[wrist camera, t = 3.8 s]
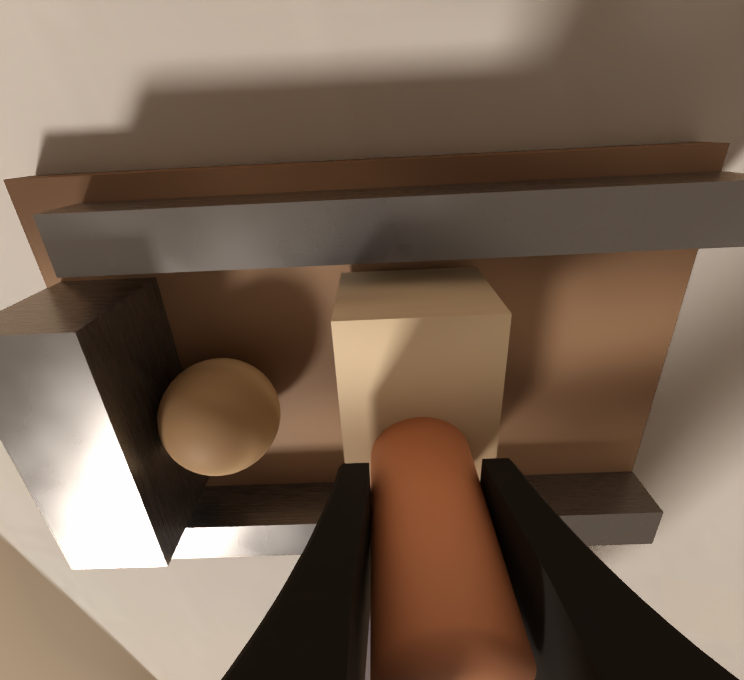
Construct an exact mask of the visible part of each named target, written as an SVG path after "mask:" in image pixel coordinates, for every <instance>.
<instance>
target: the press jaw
mask: <svg viewBox="0 0 744 680" xmlns="http://www.w3.org/2000/svg"><path fill="white" fill-rule="evenodd" d="M511 317H512V313H511V312H510V311H509V309H508V308H507V307H506V305H505V304H504V303H503V301H502V300H501V299H500V298H499V296H498V295H497V294H496V292H495V291H494V290H493V288H492V287H491V286H490V284H489V283H488V282H487V281H486V279H485V278H484V277H483V275H482V274H481V273H480V271H479V270H478V269H477V267H456V268H434V269H412V270H389V271H367V272H345V273H341V276H340V281H339V286H338V290H337V295H336V300H335V304H334V309H333V314H332V318H331V328H332V338H333V349H334V359H335V369H336V379H337V390H338V400H339V410H340V420H341V430H342V441H343V451H344V461H345V463H369V470H370V487H371V605H370V680H534V679H535V676H536V670H537V668H536V662H535V659H534V656H533V652H532V649H531V646H530V643H529V639H528V636H527V633H526V630H525V626H524V623H523V620H522V617H521V613H520V610H519V607H518V604H517V600H516V597H515V594H514V591H513V587H512V584H511V581H510V578H509V574H508V571H507V568H506V565H505V561H504V558H503V555H502V552H501V548H500V545H499V542H498V539H497V535H496V532H495V529H494V526H493V522H492V519H491V516H490V513H489V509H488V506H487V503H486V500H485V496H484V493H483V490H482V487H481V483H480V477H481V466H482V459H490V458H496V456H497V446H498V437H499V428H500V419H501V410H502V400H503V391H504V382H505V373H506V363H507V354H508V345H509V336H510V326H511Z"/></svg>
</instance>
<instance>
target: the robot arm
mask: <svg viewBox="0 0 744 680" xmlns="http://www.w3.org/2000/svg"><path fill="white" fill-rule="evenodd" d="M480 483H481V487H482V490H483V493H484V496H485V500H486V503H487V506H488V509H489V513H490V516H491V519H492V522H493V526H494V529H495V532H496V535H497V539H498V542H499V545H500V548H501V552H502V555H503V558H504V561H505V565H506V568H507V571H508V574H509V578H510V581H511V584H512V587H513V591H514V594H515V597H516V600H517V604H518V607H519V610H520V613H521V617H522V620H523V623H524V626H525V630H526V633H527V636H528V639H529V643H530V646H531V649H532V652H533V656H534V659H535V662H536V668H537V670H536V676H535V679H534V680H739V679H738V678H736V677H735V676H734V675H732V674H731V673H730V672H729V671H727V670H726V669H725V668H723V667H722V666H721V665H720V664H718V663H717V662H716V661H714V660H713V659H712V658H711V657H709V656H708V655H707V654H705V653H704V652H703V651H702V650H700V649H699V648H698V647H697V646H696V645H694V644H693V643H692V642H691V641H690V640H688V639H687V638H686V637H685V636H684V635H682V634H681V633H680V632H679V631H678V630H676V629H675V628H674V627H673V626H672V625H671V624H669V623H668V622H667V621H666V620H665V619H664V618H663V617H661V616H660V615H659V614H658V613H657V612H656V611H655V610H653V609H652V608H651V607H650V606H649V605H648V604H647V603H646V602H644V601H643V600H642V599H641V598H640V597H639V596H638V595H637V594H636V593H635V592H634V591H632V590H631V589H630V588H629V587H628V586H627V585H626V584H625V583H624V582H623V581H622V580H621V579H620V578H619V577H618V576H617V575H616V574H615V573H614V572H613V571H612V570H611V569H609V568H608V567H607V566H606V565H605V564H604V563H603V562H602V561H601V560H600V559H599V558H598V557H597V556H596V555H595V554H594V553H593V552H592V551H591V550H590V549H589V547H588V546H587V545H586V544H585V543H584V542H583V541H582V540H581V539H580V538H579V537H578V536H577V535H576V534H575V533H574V532H573V531H572V529H571V528H570V527H569V526H568V525H567V524H566V523H565V522H564V521H563V520H562V519H561V518H560V517H559V515H558V514H557V513H556V512H555V511H554V510H553V509H552V508H551V507H550V505H549V504H548V503H547V502H546V501H545V500H544V498H543V497H542V496H541V495H540V494H539V493H538V492H537V490H536V489H535V488H534V487H533V486H532V484H531V483H530V482H529V481H528V480H527V478H526V477H525V476H524V475H523V474H522V472H521V471H520V470H519V469H518V468H517V466H516V465H515V464H514V463H513V462H512V461H511V460H510V459H509V458H490V459H482V466H481V477H480ZM370 605H371V487H370V470H369V463H343V464H342V465H341V466H340V467H339V468H338V472H337V475H336V479H335V481H334V484H333V487H332V490H331V492H330V495H329V497H328V500H327V502H326V504H325V507H324V509H323V512H322V514H321V516H320V518H319V520H318V522H317V524H316V526H315V528H314V531H313V533H312V535H311V537H310V539H309V541H308V543H307V545H306V547H305V549H304V551H303V552H302V554H301V556H300V558H299V560H298V561H297V563H296V565H295V567H294V569H293V570H292V572H291V574H290V576H289V578H288V580H287V581H286V583H285V585H284V586H283V588H282V590H281V591H280V593H279V595H278V596H277V598H276V600H275V601H274V603H273V605H272V606H271V608H270V609H269V611H268V612H267V614H266V616H265V617H264V619H263V620H262V622H261V623H260V625H259V626H258V628H257V629H256V631H255V632H254V634H253V635H252V637H251V638H250V640H249V641H248V643H247V644H246V645H245V647H244V648H243V650H242V651H241V653H240V654H239V655H238V657H237V658H236V660H235V661H234V663H233V664H232V665H231V667H230V668H229V670H228V671H227V672H226V674H225V675H224V677H223V678H222V679H221V680H370Z"/></svg>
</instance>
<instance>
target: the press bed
mask: <svg viewBox="0 0 744 680" xmlns="http://www.w3.org/2000/svg"><path fill="white" fill-rule="evenodd" d="M728 147H729V143H712V142H690V143H670V144H650V145H630V146H610V147H591V148H571V149H551V150H531V151H512V152H492V153H472V154H452V155H432V156H413V157H393V158H373V159H353V160H334V161H314V162H294V163H274V164H254V165H235V166H215V167H195V168H175V169H156V170H136V171H116V172H96V173H76V174H57V175H37V176H28V177H20V178H13V179H5V180H4V183H5V185H6V188H7V190H8V192H9V195H10V197H11V200H12V202H13V205H14V207H15V210H16V212H17V215H18V217H19V220H20V222H21V224H22V227H23V229H24V232H25V234H26V237H27V239H28V242H29V244H30V247H31V249H32V252H33V254H34V256H35V259H36V261H37V264H38V266H39V269H40V271H41V274H42V276H43V279H44V281H45V283H46V286H47V288H46V289H44V290H42V291H40V292H38V293H36V294H34V295H32V296H30V297H28V298H26V299H24V300H22V301H20V302H18V303H16V304H14V305H12V306H9V307H7V308H5V309H3V310H1V311H0V440H1V441H2V443H3V445H4V447H5V449H6V451H7V452H8V454H9V456H10V458H11V460H12V461H13V463H14V465H15V467H16V469H17V471H18V472H19V474H20V476H21V478H22V480H23V481H24V483H25V485H26V487H27V489H28V491H29V492H30V494H31V496H32V498H33V500H34V501H35V503H36V505H37V507H38V509H39V511H40V512H41V514H42V516H43V518H44V520H45V521H46V523H47V525H48V527H49V529H50V531H51V532H52V534H53V536H54V538H55V540H56V541H57V543H58V545H59V547H60V549H61V551H62V552H63V554H64V556H65V558H66V560H67V561H68V563H69V565H70V567H71V569H72V570H74V569H106V568H138V567H168V565H169V563H170V561H171V559H182V558H214V557H245V556H276V555H301V554H302V552H303V551H304V549H305V547H306V545H307V543H308V541H309V539H310V537H311V535H312V533H313V531H314V528H315V526H316V524H317V522H318V520H319V518H320V516H321V514H322V512H323V509H324V507H325V504H326V502H327V500H328V497H329V495H330V492H331V490H332V487H333V484H334V481H335V479H336V475H337V472H338V468H339V467H340V466H341V465H342V464H343V463H345V461H344V451H343V441H342V430H341V420H340V410H339V400H338V390H337V379H336V369H335V359H334V349H333V338H332V328H331V318H332V314H333V309H334V304H335V300H336V295H337V290H338V286H339V281H340V276H341V273H345V272H367V271H389V270H412V269H434V268H456V267H477V269H478V270H479V271H480V273H481V274H482V275H483V277H484V278H485V279H486V281H487V282H488V283H489V284H490V286H491V287H492V288H493V290H494V291H495V292H496V294H497V295H498V296H499V298H500V299H501V300H502V301H503V303H504V304H505V305H506V307H507V308H508V309H509V311H510V312H511V313H512V317H511V326H510V336H509V345H508V354H507V363H506V373H505V382H504V391H503V400H502V410H501V419H500V428H499V437H498V446H497V456H496V458H509V459H510V460H511V461H512V462H513V463H514V464H515V465H516V466H517V468H518V469H519V470H520V471H521V472H522V474H523V475H524V476H525V477H526V478H527V480H528V481H529V482H530V483H531V484H532V486H533V487H534V488H535V489H536V490H537V492H538V493H539V494H540V495H541V496H542V497H543V498H544V500H545V501H546V502H547V503H548V504H549V505H550V507H551V508H552V509H553V510H554V511H555V512H556V513H557V514H558V515H559V517H560V518H561V519H562V520H563V521H564V522H565V523H566V524H567V525H568V526H569V527H570V528H571V529H572V531H573V532H574V533H575V534H576V535H577V536H578V537H579V538H580V539H581V540H582V541H583V542H584V543H585V544H586V545H587V546H591V545H622V544H652V542H653V540H654V537H655V534H656V531H657V529H658V526H659V523H660V520H661V517H662V515H663V511H662V510H661V509H660V507H659V506H658V505H657V503H656V502H655V501H654V499H653V498H652V497H651V496H650V494H649V493H648V492H647V490H646V489H645V488H644V486H643V485H642V484H641V482H640V481H639V480H638V479H637V477H636V476H635V475H634V473H633V472H632V469H633V466H634V463H635V459H636V456H637V453H638V449H639V446H640V442H641V439H642V436H643V432H644V429H645V426H646V422H647V419H648V416H649V412H650V409H651V405H652V402H653V399H654V395H655V392H656V389H657V385H658V382H659V379H660V375H661V372H662V368H663V365H664V362H665V358H666V355H667V352H668V348H669V345H670V342H671V338H672V335H673V331H674V328H675V325H676V321H677V318H678V315H679V311H680V308H681V305H682V301H683V298H684V294H685V291H686V288H687V284H688V281H689V278H690V274H691V271H692V268H693V264H694V261H695V257H696V254H697V251H698V249H700V248H722V247H744V174H743V173H735V172H726V171H721V170H722V167H723V163H724V160H725V157H726V153H727V150H728Z"/></svg>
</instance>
